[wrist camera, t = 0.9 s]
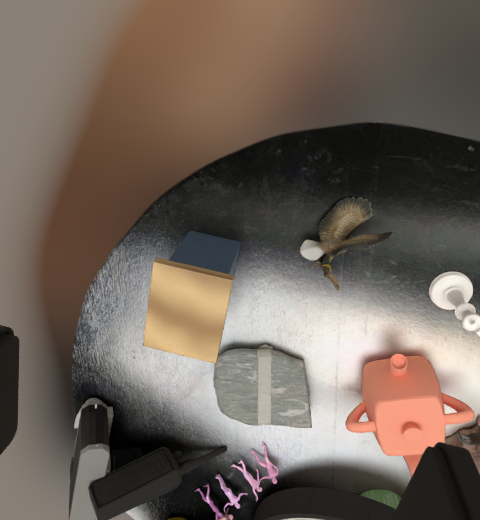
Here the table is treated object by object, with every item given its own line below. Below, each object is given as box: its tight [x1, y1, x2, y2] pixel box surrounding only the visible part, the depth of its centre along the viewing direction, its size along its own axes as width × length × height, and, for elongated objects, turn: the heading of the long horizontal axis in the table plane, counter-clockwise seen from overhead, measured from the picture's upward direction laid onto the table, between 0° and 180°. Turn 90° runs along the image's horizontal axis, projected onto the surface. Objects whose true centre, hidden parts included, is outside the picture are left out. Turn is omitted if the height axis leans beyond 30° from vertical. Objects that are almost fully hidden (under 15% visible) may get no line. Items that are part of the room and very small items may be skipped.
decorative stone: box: [214, 344, 312, 428], centre depth 60 cm, size 13×10×6 cm
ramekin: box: [360, 489, 401, 509], centre depth 67 cm, size 9×9×4 cm
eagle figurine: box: [300, 197, 395, 291], centre depth 51 cm, size 8×7×9 cm
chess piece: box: [429, 272, 480, 337], centre depth 50 cm, size 5×5×10 cm
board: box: [143, 258, 234, 363], centre depth 46 cm, size 10×8×1 cm
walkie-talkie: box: [88, 446, 227, 520], centre depth 65 cm, size 6×6×20 cm
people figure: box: [195, 444, 278, 520], centre depth 70 cm, size 18×6×8 cm
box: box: [169, 230, 241, 275], centre depth 52 cm, size 8×7×12 cm
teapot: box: [346, 354, 474, 476], centre depth 56 cm, size 14×12×10 cm
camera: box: [69, 398, 143, 520], centre depth 68 cm, size 18×10×10 cm, turn 164°
